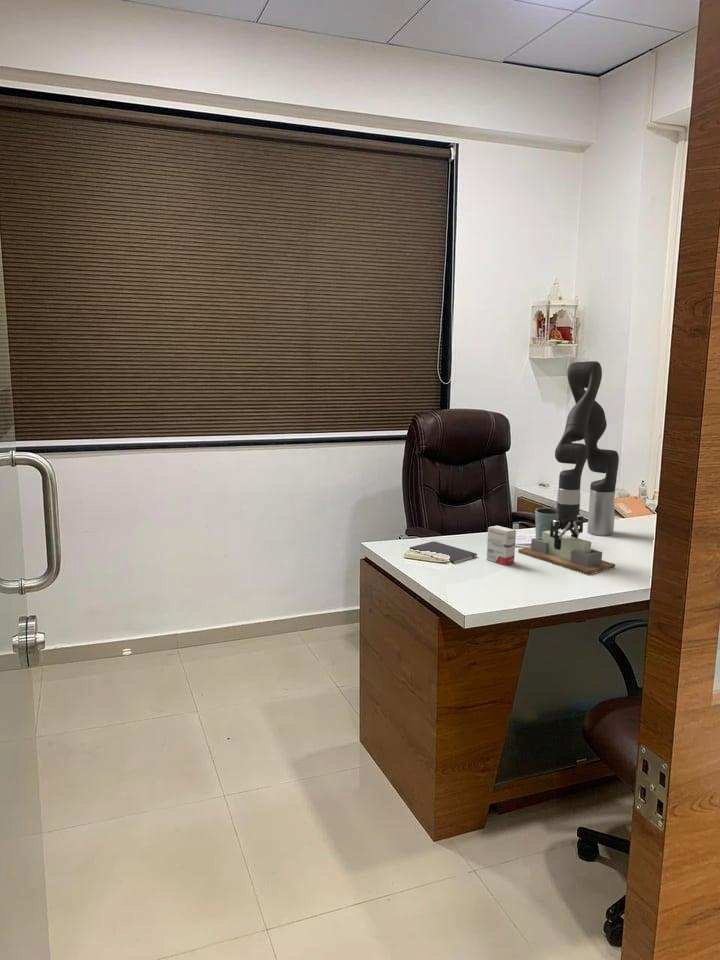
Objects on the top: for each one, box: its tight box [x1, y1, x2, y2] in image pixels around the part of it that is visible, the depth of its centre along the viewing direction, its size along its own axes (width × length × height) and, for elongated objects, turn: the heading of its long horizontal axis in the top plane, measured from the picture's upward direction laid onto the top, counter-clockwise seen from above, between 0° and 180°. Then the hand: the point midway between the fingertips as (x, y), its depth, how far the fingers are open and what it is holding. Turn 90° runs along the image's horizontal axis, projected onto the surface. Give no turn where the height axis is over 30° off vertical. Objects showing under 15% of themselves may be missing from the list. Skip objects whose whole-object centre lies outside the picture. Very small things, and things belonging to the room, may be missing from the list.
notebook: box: [409, 541, 478, 565], centre depth 249 cm, size 13×2×21 cm
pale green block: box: [542, 530, 592, 560], centre depth 241 cm, size 4×18×7 cm, turn 35°
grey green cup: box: [534, 507, 561, 538], centre depth 263 cm, size 10×10×12 cm
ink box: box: [486, 525, 517, 566], centre depth 238 cm, size 8×5×12 cm, turn 39°
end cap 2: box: [571, 548, 603, 567], centre depth 234 cm, size 7×7×4 cm
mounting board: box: [517, 546, 616, 576], centre depth 242 cm, size 14×30×1 cm, turn 34°
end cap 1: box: [530, 537, 549, 554], centre depth 248 cm, size 7×7×4 cm
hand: (565, 547), depth 241 cm, fingers open, 8 cm apart
